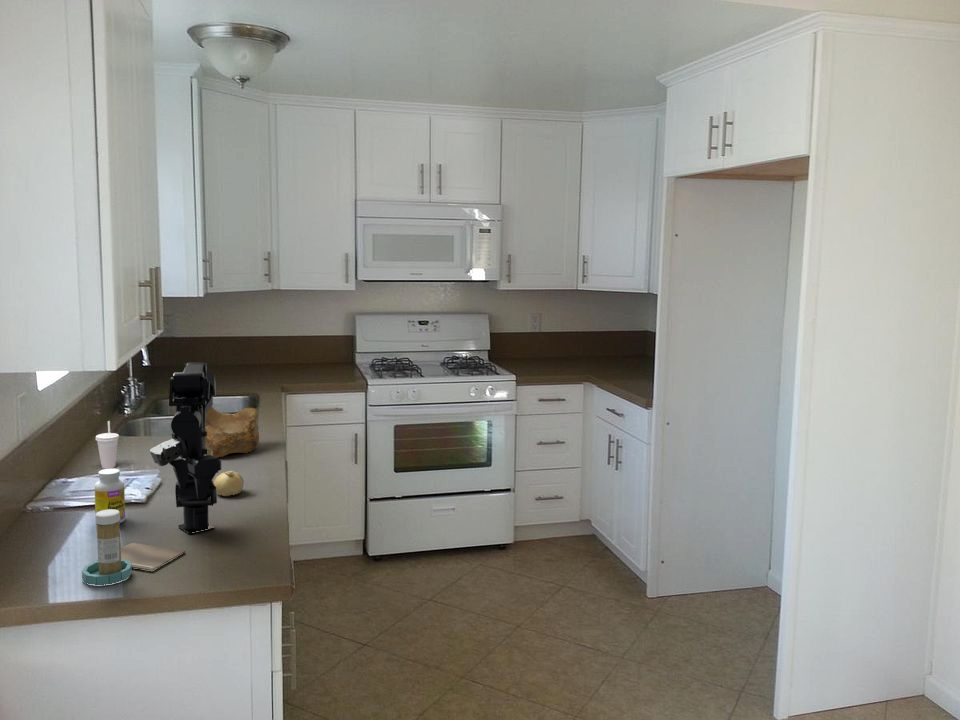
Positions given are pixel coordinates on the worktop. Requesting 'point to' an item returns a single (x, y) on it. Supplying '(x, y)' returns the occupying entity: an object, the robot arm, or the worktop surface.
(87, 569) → the bowl
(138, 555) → the board
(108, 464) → the smoothie
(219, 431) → the rough brown rock
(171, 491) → the worktop surface
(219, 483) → the onion
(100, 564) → the sprinkles bottle
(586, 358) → the worktop surface
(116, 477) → the supplement bottle
